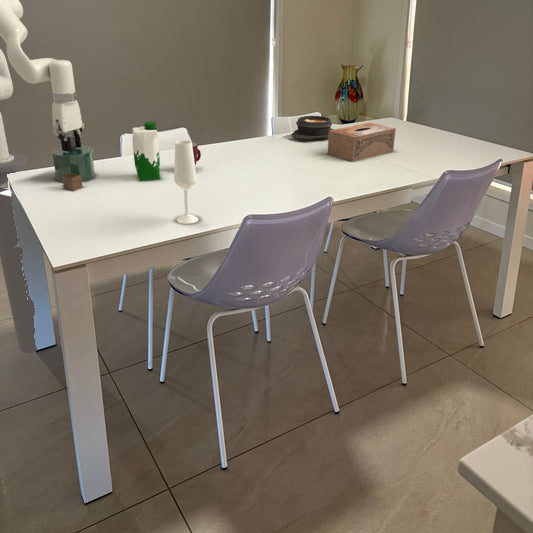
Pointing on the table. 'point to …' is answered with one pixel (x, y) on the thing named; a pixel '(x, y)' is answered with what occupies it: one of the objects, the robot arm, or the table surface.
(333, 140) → the tissue box cover
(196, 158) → the mug
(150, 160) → the milk carton
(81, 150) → the lid
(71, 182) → the block
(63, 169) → the pot
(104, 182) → the table surface
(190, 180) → the champagne flute
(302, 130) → the casserole
